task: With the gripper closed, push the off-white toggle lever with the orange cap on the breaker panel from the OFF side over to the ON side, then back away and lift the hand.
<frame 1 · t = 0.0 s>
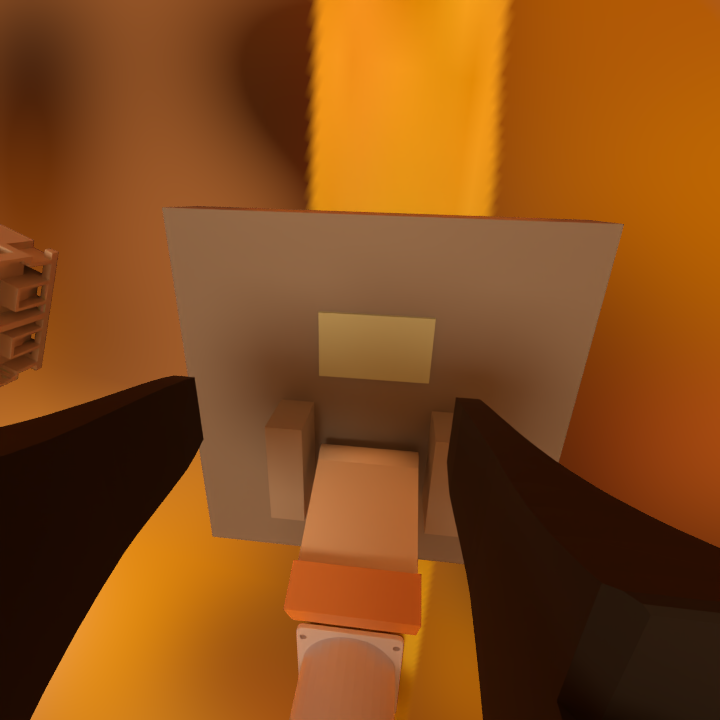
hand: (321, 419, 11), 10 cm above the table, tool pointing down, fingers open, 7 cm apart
breaker panel: (374, 419, 22), on the table
toggle lever: (362, 523, 17), point 7 cm above the table, hinge at -25.0°
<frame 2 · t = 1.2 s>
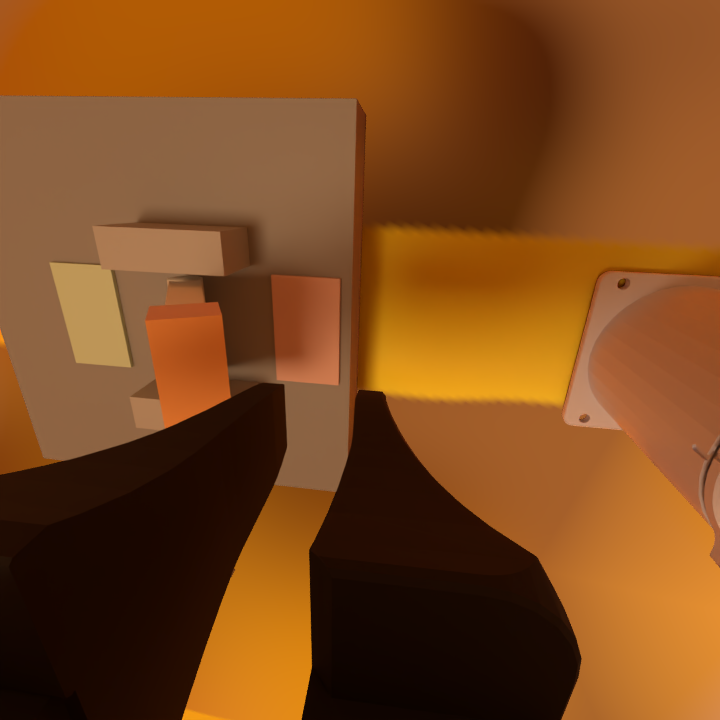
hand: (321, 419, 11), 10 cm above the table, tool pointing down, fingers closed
breaker panel: (230, 307, 21), on the table
toggle lever: (193, 352, 15), point 6 cm above the table, hinge at -29.8°
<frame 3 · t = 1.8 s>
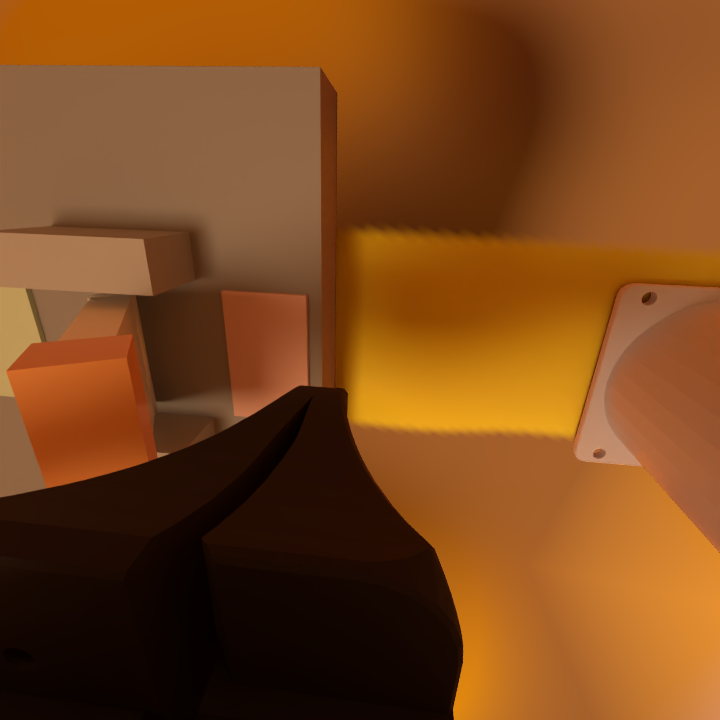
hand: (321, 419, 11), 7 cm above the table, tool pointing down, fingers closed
breaker panel: (183, 325, 18), on the table
toggle lever: (115, 393, 12), point 6 cm above the table, hinge at -29.9°
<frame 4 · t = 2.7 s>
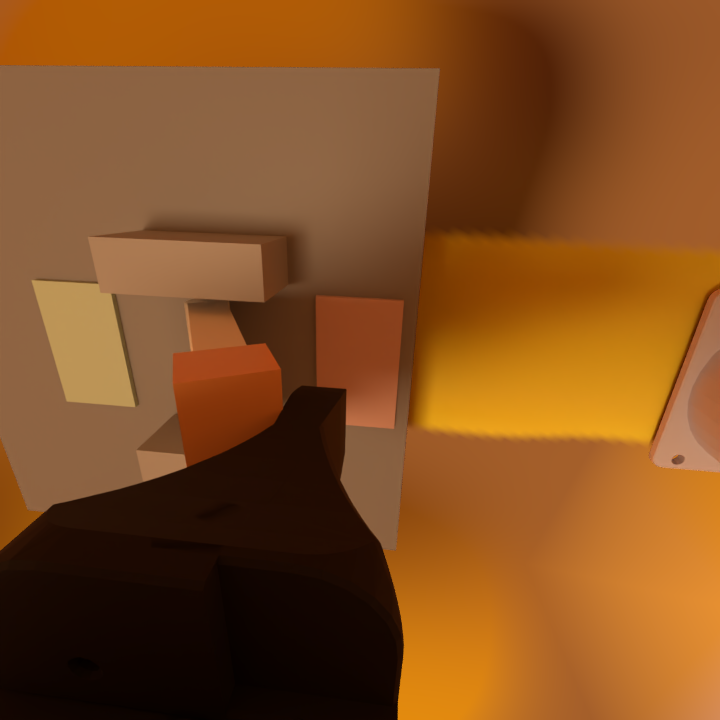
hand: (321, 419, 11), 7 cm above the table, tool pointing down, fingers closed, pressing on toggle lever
breaker panel: (254, 330, 18), on the table
toggle lever: (223, 402, 11), point 6 cm above the table, hinge at -29.5°, touching gripper
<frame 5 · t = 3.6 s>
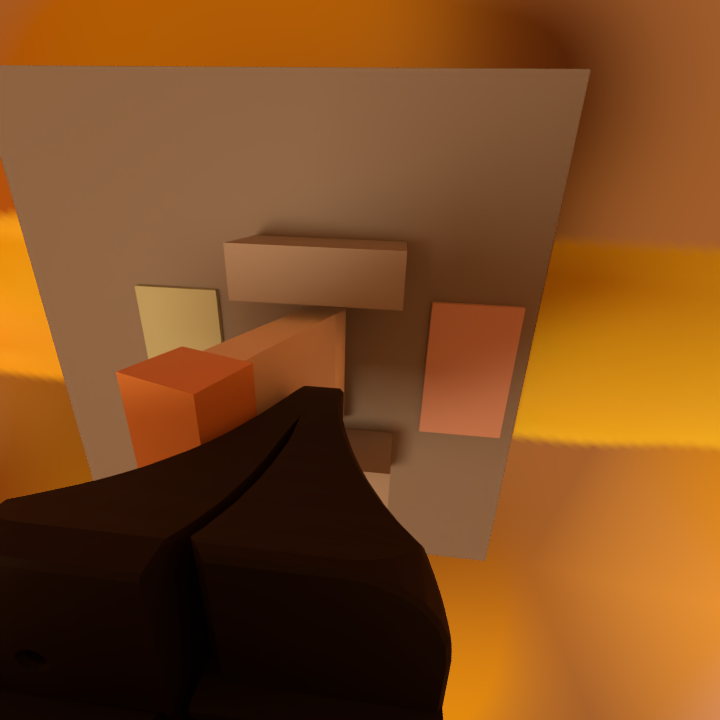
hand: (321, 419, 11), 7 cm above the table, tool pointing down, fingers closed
breaker panel: (341, 336, 17), on the table
toggle lever: (275, 410, 11), point 7 cm above the table, hinge at 18.5°, touching gripper
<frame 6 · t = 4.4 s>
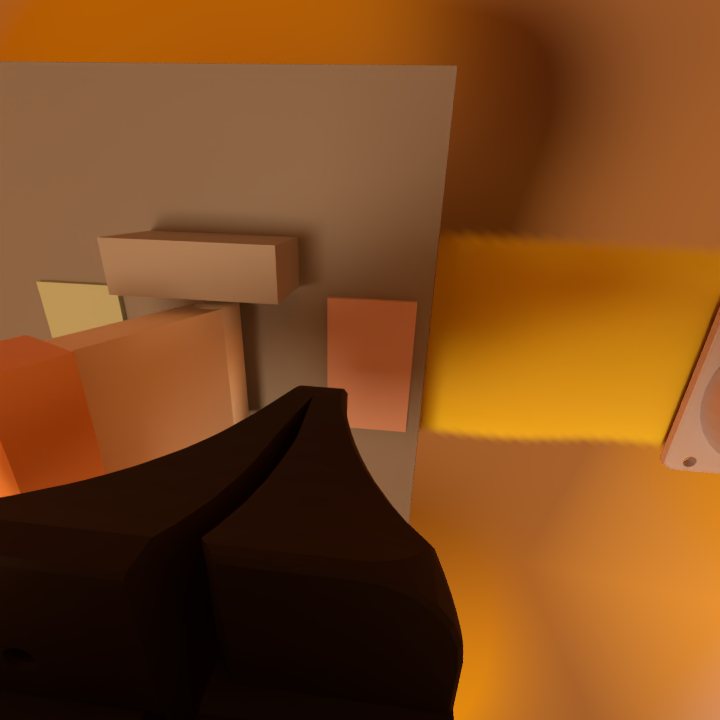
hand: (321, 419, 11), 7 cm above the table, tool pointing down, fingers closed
breaker panel: (261, 332, 17), on the table
toggle lever: (148, 401, 11), point 7 cm above the table, hinge at 23.5°
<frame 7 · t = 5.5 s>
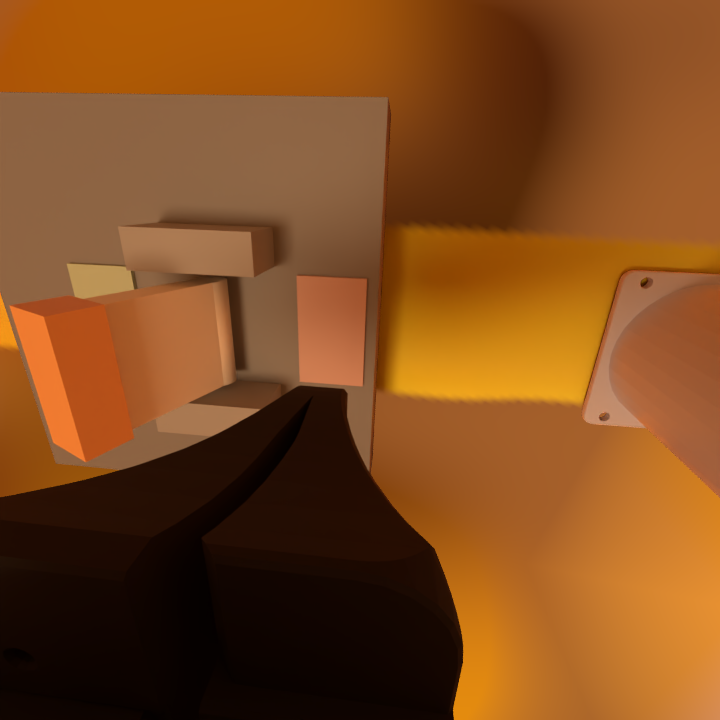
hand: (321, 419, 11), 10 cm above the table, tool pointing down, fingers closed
breaker panel: (248, 308, 21), on the table
toggle lever: (155, 351, 15), point 7 cm above the table, hinge at 23.7°
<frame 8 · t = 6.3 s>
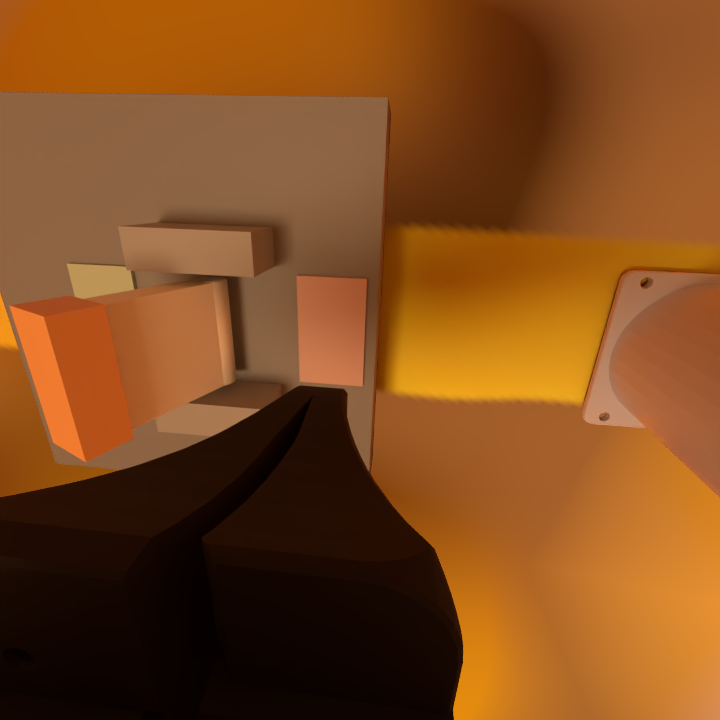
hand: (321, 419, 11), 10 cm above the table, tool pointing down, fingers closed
breaker panel: (248, 308, 21), on the table
toggle lever: (155, 351, 15), point 7 cm above the table, hinge at 23.7°
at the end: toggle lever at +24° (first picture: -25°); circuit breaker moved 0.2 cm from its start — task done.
